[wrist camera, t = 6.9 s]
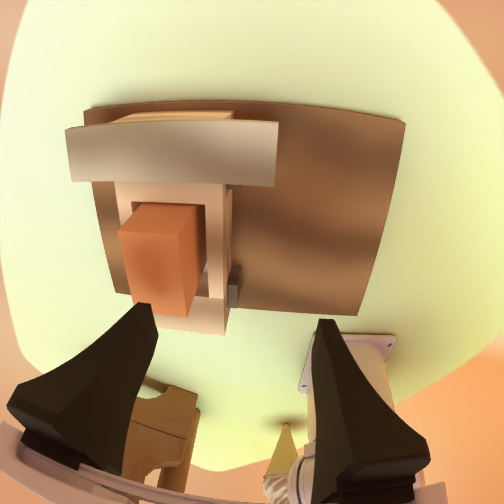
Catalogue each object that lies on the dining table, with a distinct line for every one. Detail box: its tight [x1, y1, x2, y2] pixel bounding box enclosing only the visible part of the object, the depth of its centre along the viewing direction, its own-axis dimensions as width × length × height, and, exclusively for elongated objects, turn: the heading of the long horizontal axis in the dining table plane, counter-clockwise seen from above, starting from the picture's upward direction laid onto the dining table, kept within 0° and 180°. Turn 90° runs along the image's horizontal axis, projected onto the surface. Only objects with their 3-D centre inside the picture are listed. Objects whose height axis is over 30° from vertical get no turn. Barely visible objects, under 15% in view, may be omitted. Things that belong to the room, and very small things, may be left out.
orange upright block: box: [117, 202, 207, 318], centre depth 17 cm, size 5×3×6 cm, turn 178°
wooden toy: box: [107, 385, 200, 504], centre depth 24 cm, size 16×7×25 cm, turn 67°
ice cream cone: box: [262, 423, 298, 504], centre depth 30 cm, size 5×5×15 cm
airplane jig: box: [65, 100, 406, 336], centre depth 19 cm, size 15×20×5 cm
